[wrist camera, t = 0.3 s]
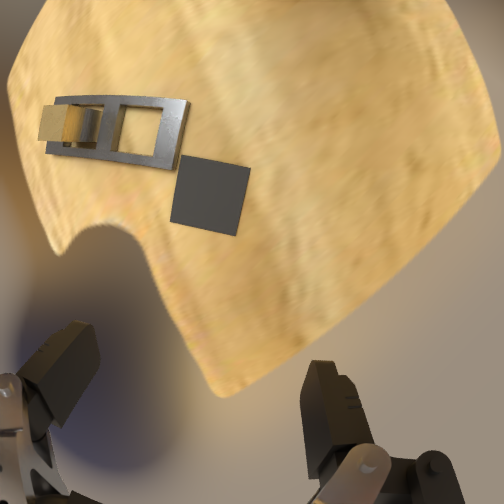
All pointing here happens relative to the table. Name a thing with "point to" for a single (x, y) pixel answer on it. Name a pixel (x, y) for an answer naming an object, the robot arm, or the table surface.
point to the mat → (209, 194)
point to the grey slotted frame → (112, 125)
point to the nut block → (69, 124)
